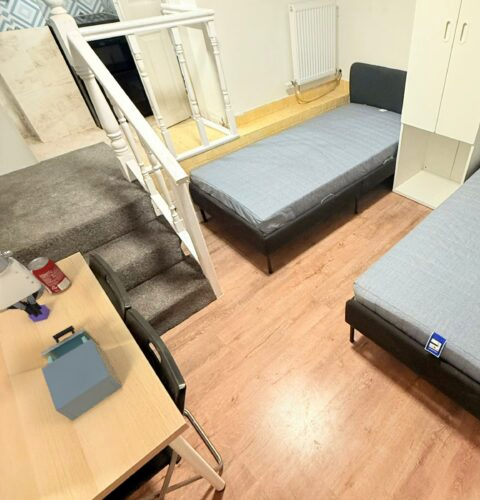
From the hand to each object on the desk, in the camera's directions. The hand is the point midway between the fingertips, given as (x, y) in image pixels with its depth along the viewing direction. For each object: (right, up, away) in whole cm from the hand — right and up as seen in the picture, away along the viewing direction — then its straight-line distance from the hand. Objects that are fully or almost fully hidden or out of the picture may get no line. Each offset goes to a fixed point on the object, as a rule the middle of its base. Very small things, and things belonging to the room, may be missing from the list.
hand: (37, 312), depth 89 cm
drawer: (+9, -14, +3) cm, 17 cm away
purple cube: (-12, -4, +16) cm, 20 cm away
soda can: (-12, +4, +24) cm, 27 cm away
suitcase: (+16, -19, -1) cm, 25 cm away
